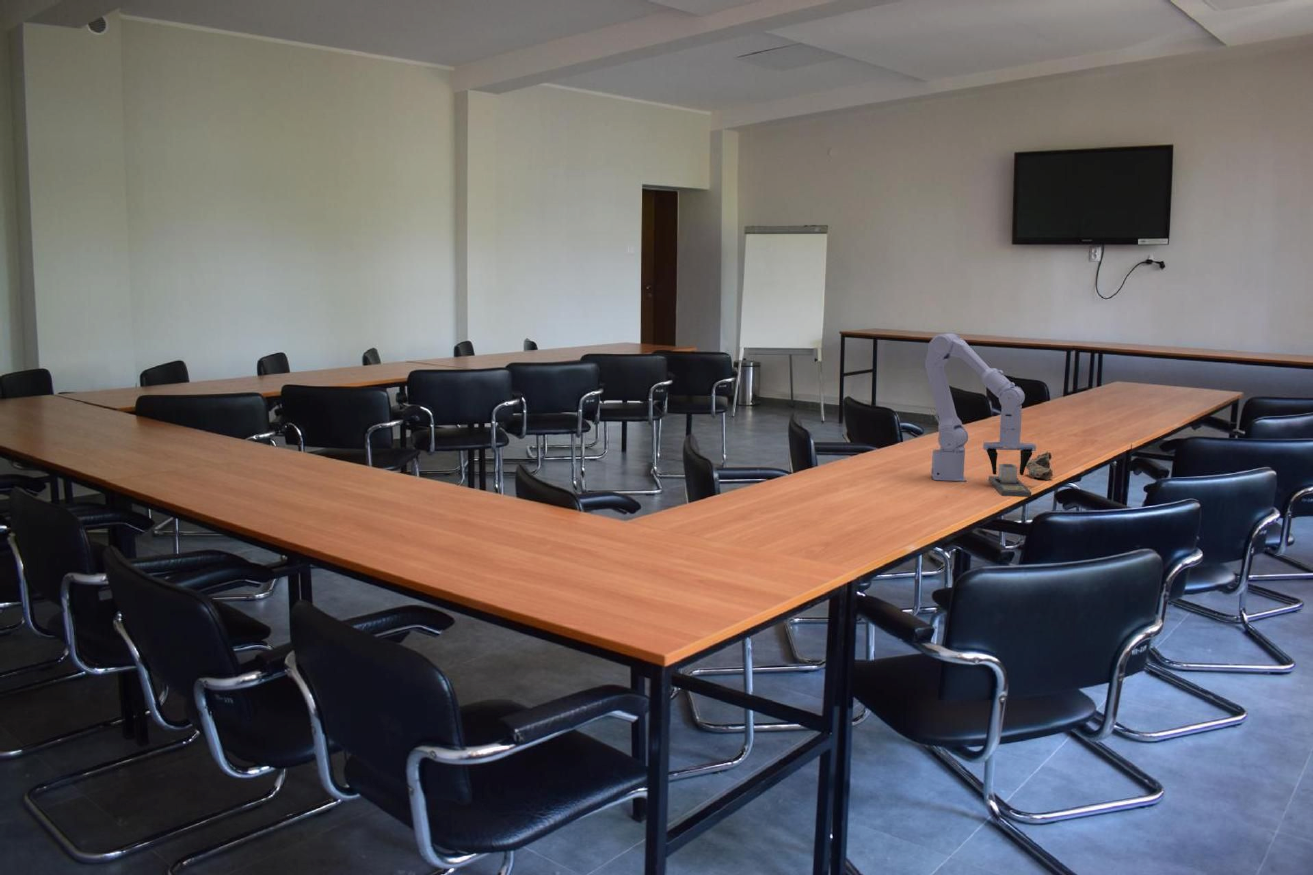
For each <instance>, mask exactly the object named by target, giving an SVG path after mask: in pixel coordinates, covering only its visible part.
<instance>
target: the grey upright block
mask: <svg viewBox="0 0 1313 875" xmlns="http://www.w3.org/2000/svg"><path fill="white" fill-rule="evenodd" d="M1017 478H1018V467H1017V466H1016V465H1015V464H1013V463H1002V464H1001V463H1000V464H998V483H999V484H1016V481H1017Z"/></svg>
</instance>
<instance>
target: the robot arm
mask: <svg viewBox="0 0 1313 875" xmlns="http://www.w3.org/2000/svg"><path fill="white" fill-rule="evenodd" d="M927 348H928V349H927V353H926V358H925V361H924V366H925V370H926V375H927V378H928V381H929V386H930V390H931V393H932V397H933V401H934V404H935V408H936V412H937V415H938V420H939V422H938V426H937V430H938V438H937V441H938V445H939V446H940V448H939V449H933V451H932V457H931V458H932V462H931V471H930V472H931V474H930V475H931V478H932V479H933V480H934V481H946V482H947V481H951V482H967V478H966V477H965V476H964V475H965V459H966V447H965V445H966V444H967V442H968V439H969V433H968V431H967V430H966V429H965V427H964V425H963V422H962V420H961V419H960V417H958V415H957V411H956V408H955V403H954V399H953V396H952V392H951V389H950V384H949V380H948V377H947V374H946V370H945V365H946V363H947V362H948V361H949V359H950V358H951V357H953V358H959V359H962V360H963V361H964V362H965V363H966V364H967V365H969V366H970V367H971V368H972V369H973V370H974V371H975V372H976V373H977V374H979V375H980V376H981V383H982V384H983V385H984V386H985V387H986V388H987V389H988V390H989V391H990V392H991V393H992V394H993V395H994V396H995V397H997V398H998V402H999V404H1000V406H1001V409H1000V411H1001V412H1000V424H999V425H1000V426H999V427H1000V428H999V439H998V440H999V441H991V442H989V441H988V442H985V441H984V442H982V443H983V446H982V448H983V450H986V453H987V455H988V458H989V461H990V464H991V470H992V474H993V475H997V464H998V462H997V461H998V452H997V451H998V450H999V451H1001V450H1002V451H1020V453H1019V454H1020V464H1019V465H1020V466H1019V475H1020V476H1024V474H1025V470H1026V465H1027V463H1028V461H1029V460H1031V457H1032V455H1033V452H1036V448H1037V444H1036V443H1033V442H1031V443H1028V442H1021V432H1022V418H1023V416H1022V413H1023V412H1022V411H1023V410H1022V407H1023V406H1022V404H1023V403H1024V402H1025V399H1026V394H1025V393H1024V391H1023V389H1022V388H1021V387H1020V386H1017V385H1016V384H1015V383H1014V382H1011V381H1010V380H1009V378H1007V377H1006V376H1005V375H1004V371H1003V370H1002V369H998V368H996V367H995V368H994V367H992V368H991V367H989V366H988V364H987V363H986V362H985V361H984V360H983V359H982V358H981V357H980V356H979V355H978V354H977V353H976V352H975V351H974V349H973V348H971V346H969V344H968V343H967V341H965V340H964V339H963V338H961V337H960V336H959V335H958V334H957V333H955V332H947V333H938V334H936V335H934V336H933V337H932V339H931V340H930V341H929V343H928V345H927ZM1015 385H1016V386H1015Z"/></svg>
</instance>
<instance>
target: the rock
mask: <svg viewBox="0 0 1313 875" xmlns="http://www.w3.org/2000/svg"><path fill="white" fill-rule="evenodd" d="M1051 460H1052V454H1051V452H1049V451H1046V452H1045V453H1043V454H1042V453H1041V454H1038V455H1037V456H1036V457H1034V458H1032V459H1029V461H1028V463H1027V465H1026V467H1025V469H1027V470H1028V475H1029V477H1030V478H1031V479H1034V478H1037V479H1040V480H1044V481H1048V480H1050V479H1051V478H1052V477H1054V475H1053V469H1051V463H1050V461H1051Z"/></svg>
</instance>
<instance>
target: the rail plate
mask: <svg viewBox="0 0 1313 875" xmlns="http://www.w3.org/2000/svg"><path fill="white" fill-rule="evenodd" d="M988 481H989V482H990V484H991V485H992V486H993V487H994V488H995V490H996V491H997V492H998V493H999V494H1000V495H1001V496H1002V497H1005V496H1006V497H1007V496H1009V497H1030V498H1031V497H1032V492H1031V490H1030V489H1029V488H1027V486H1026V485H1025V484H1024V483H1023V482H1022V481H1021V480H1020V479H1019V478H1018V477H1017V481H1016V484H999V483H998V476H993V475H990V476H988Z"/></svg>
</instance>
